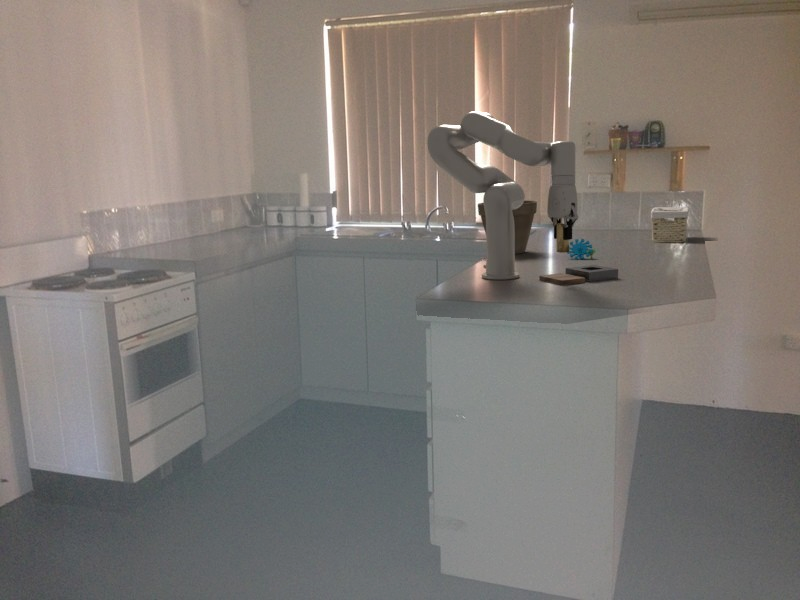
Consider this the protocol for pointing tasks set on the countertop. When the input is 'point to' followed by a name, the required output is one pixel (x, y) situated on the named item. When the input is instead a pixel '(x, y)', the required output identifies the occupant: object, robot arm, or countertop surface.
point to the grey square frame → (593, 272)
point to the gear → (581, 249)
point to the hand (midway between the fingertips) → (563, 238)
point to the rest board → (562, 279)
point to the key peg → (561, 240)
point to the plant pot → (518, 222)
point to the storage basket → (669, 224)
